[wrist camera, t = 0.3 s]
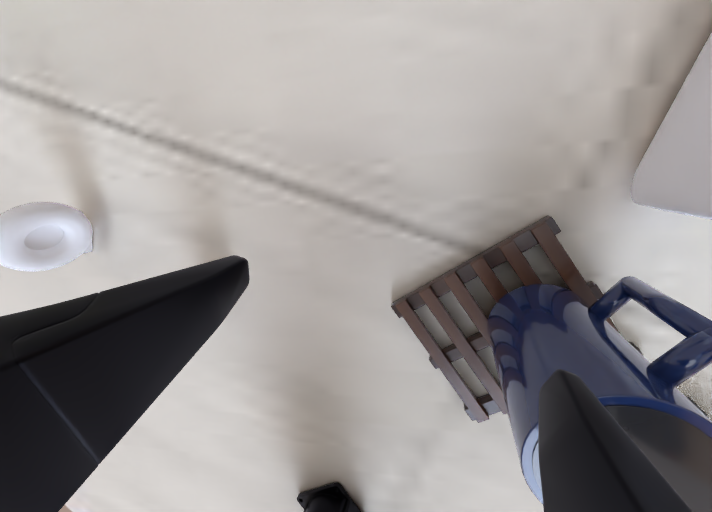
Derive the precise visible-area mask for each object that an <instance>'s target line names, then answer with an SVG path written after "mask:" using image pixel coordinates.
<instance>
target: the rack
mask: <svg viewBox="0 0 712 512" xmlns="http://www.w3.org/2000/svg"><path fill="white" fill-rule="evenodd" d="M560 232H561V230H560V228H559V227H558V225H557V224H556V222H555V221H554V219H553V218H552V217H550V216H546V217H544V218H543V219H541V220H539V221H537V222H536V223H534V224H532V225H530V226H528V227H527V228H525V229H523V230H521V231H520V232H518V233H516V234H514V235H512V236H511V237H509V238H507V239H505V240H504V241H502V242H500V243H498V244H496V245H495V246H493V247H491V248H489V249H488V250H486V251H484V252H482V253H480V254H479V255H477V256H475V257H473V258H472V259H470V260H468V261H466V262H464V263H463V264H461V265H459V266H457V267H456V268H454V269H452V270H450V271H449V272H447V273H445V274H443V275H441V276H440V277H438V278H436V279H434V280H433V281H431V282H429V283H427V284H425V285H424V286H422V287H420V288H418V289H417V290H415V291H413V292H411V293H409V294H408V295H406V296H404V297H402V298H401V299H399V300H397V301H395V302H393V304H392V306H391V307H392V309H393V310H394V311H395V313H396V314H397V316H398V317H399V318H401V317H402V316H403V318H404V319H405V320H406V322H407V323H408V325H409V326H410V328H411V329H412V330H413V332H414V333H415V335H416V336H417V337H418V339H419V340H420V342H421V343H422V344H423V346H424V347H425V349H426V350H427V351H428V353H429V354H430V357H429V360H430V362H431V363H432V365H433V366H434V367H435V369H437V368H440V370H441V371H442V372H443V374H444V375H445V377H446V378H447V380H448V381H449V382H450V384H451V385H452V387H453V388H454V389H455V391H456V392H457V394H458V395H459V396H460V398H461V399H462V401H463V402H464V408H465V411H466V413H467V414H468V415H469V417H470V418H471V420H472V421H473V420H477V422H478V423H479V422H482V421H485V420H488V419H489V415H491V414H494V413H497V412H500V411H502V413H503V414H506V413H508V412H507V408H506V404H505V400H504V396H503V392H502V388H501V387H500V385H499V384H498V382H497V381H496V380H495V378H494V377H493V375H492V374H491V372H490V371H489V370H488V368H487V367H486V365H485V364H484V362H483V361H482V360H481V358H480V357H479V355H478V354H477V352H476V351H479V350H481V349H483V348H486V347H488V346H490V347H491V344H490V340H489V336H488V331H487V324H488V318H487V317H486V315H485V314H484V312H483V311H482V309H481V308H480V307H479V305H478V304H477V302H476V301H475V299H474V298H473V296H472V295H471V293H470V292H469V291H468V289H467V288H466V286H465V285H464V283H466V282H468V281H470V280H472V279H474V278H475V277H477V276H479V278H480V279H481V281H482V282H483V284H484V285H485V287H486V288H487V289H488V291H489V292H490V294H491V295H492V297H493V298H494V300H495V301H496V303H497V302H498V301H499V300H500V299H501V298H502V297H503V296H505V295H506V294H507V293H508V292H507V291H506V289H505V288H504V287H503V285H502V284H501V282H500V281H499V279H498V278H497V276H496V275H495V273H494V272H493V270H492V268H494V267H496V266H498V265H500V264H502V263H504V262H505V261H507V260H508V262H509V263H510V265H511V266H512V268H513V269H514V271H515V272H516V274H517V275H518V277H519V278H520V279H521V281H522V282H523V284H524V285H525V286H527V285H533V284H542V282H541V281H540V279H539V278H538V276H537V275H536V273H535V272H534V270H533V269H532V267H531V266H530V264H529V263H528V261H527V260H526V258H525V257H524V255H523V254H522V252H524V251H526V250H528V249H530V248H532V247H534V246H535V245H537V244H540V246H541V247H542V249H543V250H544V252H545V253H546V255H547V256H548V258H549V259H550V261H551V262H552V264H553V265H554V267H555V268H556V270H557V271H558V273H559V274H560V276H561V277H562V279H563V280H564V282H565V283H566V285H567V286H568V288H569V289H570V290H571V291H572V292H574V293H576V294H577V295H579V296H580V297H581V298H583V299H584V300H585V301H586V302H587V303H588V304H589V305H590V306H591V305H592V304H593V303H595V302H596V301H597V299H599V298H600V297H601V296H602V295H603V294H602V292H601V291H600V289H599V288H598V286H597V285H596V284H595V283H593V282H589V283H586V282H585V280H584V279H583V277H582V276H581V274H580V273H579V271H578V270H577V268H576V267H575V265H574V264H573V262H572V260H571V259H570V257H569V256H568V254H567V253H566V251H565V250H564V248H563V247H562V245H561V244H560V242H559V241H558V239H557V238H556V236H555V235H556V234H558V233H560ZM449 291H452V292H453V294H454V295H455V297H456V298H457V300H458V301H459V303H460V304H461V305H462V307H463V308H464V310H465V311H466V313H467V314H468V315H469V317H470V318H471V320H472V321H473V323H474V324H475V326H476V327H477V328H478V330H479V331H480V332H479V333H477V334H474V335H472V336H470V337H468V338H466V337H465V335H464V334H463V332H462V331H461V330H460V328H459V327H458V325H457V324H456V322H455V321H454V320H453V318H452V317H451V315H450V314H449V312H448V311H447V310H446V308H445V307H444V305H443V304H442V302H441V301H440V300H439V298H438V297H440V296H442V295H444V294H445V293H447V292H449ZM425 304H426V305H427V306H428V307H429V309H430V310H431V312H432V313H433V315H434V316H435V317H436V319H437V320H438V322H439V323H440V325H441V326H442V327H443V329H444V330H445V332H446V333H447V334H448V336H449V337H450V339H451V340H452V342H453V343H454V344H452V345H450V346H448V347H446V348H444V349H441V347H440V346H439V345H438V343H437V342H436V340H435V339H434V338H433V336H432V335H431V333H430V332H429V331H428V329H427V328H426V326H425V325H424V323H423V322H422V321H421V319H420V318H419V316H418V315H417V314H416V312H415V311H414V310H416V309H417V308H419V307H421V306H423V305H425ZM606 321H607V322H608V323H609V324H610V325H611V326H612V327H613V328H614V329H615V330H616V331H617V332H618V330H617V329H616V327H615V326H614V324H613V323H612V321H611V320H610V318H608V319H607V320H606ZM618 333H619V332H618ZM619 334H620V333H619ZM630 344H631V345H632V346H633V347H634V348H635V349H636V350H637V351H638V352H639V353H641V351H640V350H639V348H638V347H637V346H635V345H634V344H633V343H630ZM491 349H492V348H491ZM641 354H642V353H641ZM642 355H643V354H642ZM462 357H464V359H465V360H466V362H467V363H468V364H469V366H470V367H471V369H472V370H473V371H474V373H475V374H476V376H477V377H478V379H479V380H480V381H481V383H482V384H483V386H484V387H485V389H486V390H487V391H488V393H489V395H486V396H483V397H480V398H478V399H477V398H476V397H475V396H474V394H473V393H472V391H471V390H470V388H469V387H468V386H467V384H466V383H465V381H464V380H463V379H462V377H461V376H460V374H459V373H458V372H457V370H456V369H455V367H454V366H453V364H452V363H451V362H453V361H455V360H458V359H460V358H462Z"/></svg>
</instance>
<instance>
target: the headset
mask: <svg viewBox="0 0 712 512" xmlns="http://www.w3.org/2000/svg"><path fill="white" fill-rule="evenodd" d="M92 236H93V229H92V225H91V223H90V221H89V220H88V218H87V217H86V216H85V215H84V213H83V212H82V211H81V210H77V209H75V208H73V207H70V206H68V205H65V204H60V203H54V202H35V203H29V204H24V205H20V206H17V207H14V208H12V209H10V210H8V211H6V212H4V213H2V214H0V265H2V266H5V267H7V268H11V269H15V270H19V271H44V270H50V269H54V268H57V267H60V266H63V265H65V264H67V263H69V262H71V261H73V260H74V259H76V258H77V257H79V256H80V255H81V254H82V253H88V252H91V251H92V248H93V247H92Z"/></svg>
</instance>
